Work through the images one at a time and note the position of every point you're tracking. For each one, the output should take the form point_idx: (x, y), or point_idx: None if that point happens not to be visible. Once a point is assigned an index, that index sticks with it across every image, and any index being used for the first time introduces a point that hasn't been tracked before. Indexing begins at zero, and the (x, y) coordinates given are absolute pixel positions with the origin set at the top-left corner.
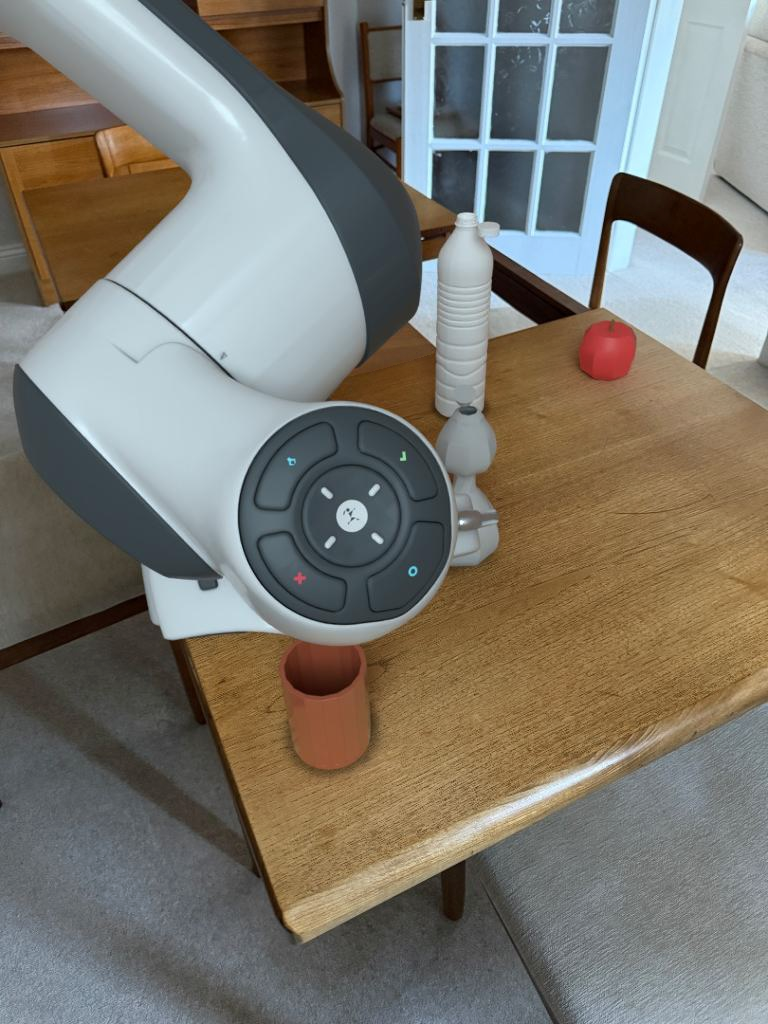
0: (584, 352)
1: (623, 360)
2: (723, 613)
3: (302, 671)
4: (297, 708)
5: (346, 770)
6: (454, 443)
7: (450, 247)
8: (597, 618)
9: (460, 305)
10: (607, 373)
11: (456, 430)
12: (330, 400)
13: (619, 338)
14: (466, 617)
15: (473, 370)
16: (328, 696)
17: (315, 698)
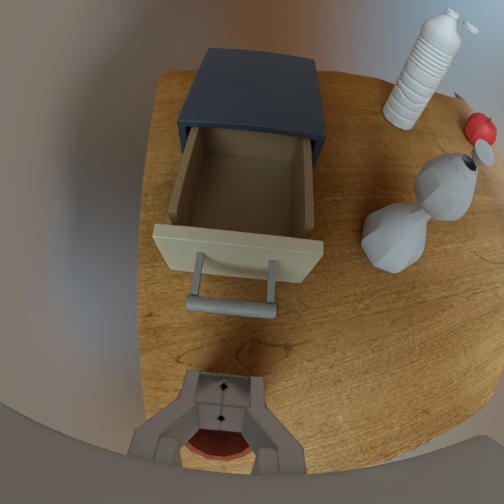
0: (471, 125)
1: (488, 143)
2: (495, 356)
3: None
4: None
5: None
6: (446, 189)
7: (437, 22)
8: (445, 346)
9: (432, 59)
10: None
11: (453, 177)
12: (317, 78)
13: (492, 130)
14: (367, 320)
15: (421, 103)
16: (215, 457)
17: (201, 454)
